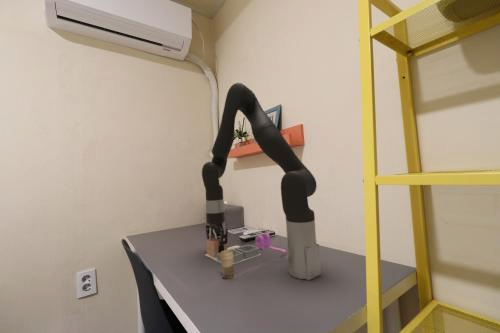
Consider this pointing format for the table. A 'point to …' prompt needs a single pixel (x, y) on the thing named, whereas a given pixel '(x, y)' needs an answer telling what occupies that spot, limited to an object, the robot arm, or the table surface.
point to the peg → (227, 264)
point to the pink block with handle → (265, 242)
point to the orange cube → (213, 247)
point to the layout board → (240, 253)
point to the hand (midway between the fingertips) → (217, 252)
